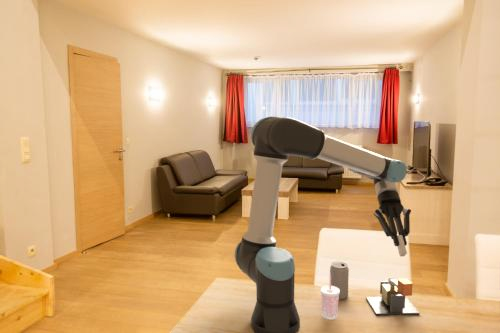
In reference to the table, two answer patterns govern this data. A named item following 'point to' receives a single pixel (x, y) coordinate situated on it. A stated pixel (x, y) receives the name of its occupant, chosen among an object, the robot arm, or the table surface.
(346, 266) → the beverage can
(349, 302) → the table surface
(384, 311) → the valve body
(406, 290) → the valve lever
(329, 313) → the beverage cup
